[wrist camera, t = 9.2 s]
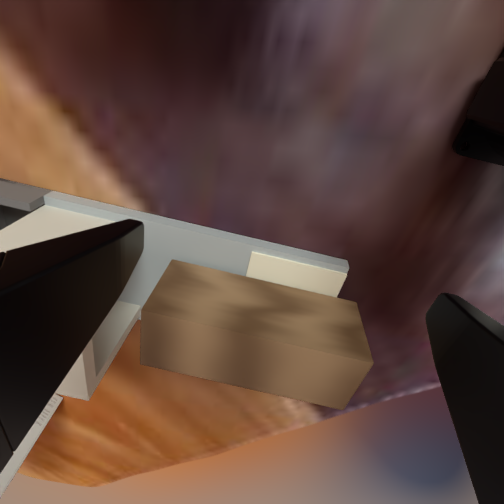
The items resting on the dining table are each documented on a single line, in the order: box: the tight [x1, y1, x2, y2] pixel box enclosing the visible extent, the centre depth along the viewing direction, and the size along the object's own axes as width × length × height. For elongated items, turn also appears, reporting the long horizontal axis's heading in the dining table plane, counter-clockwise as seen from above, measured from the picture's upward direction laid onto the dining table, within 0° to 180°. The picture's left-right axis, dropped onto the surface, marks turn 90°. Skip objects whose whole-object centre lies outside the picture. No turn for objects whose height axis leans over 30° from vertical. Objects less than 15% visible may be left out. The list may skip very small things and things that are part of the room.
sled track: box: [0, 178, 349, 401], centre depth 21 cm, size 27×10×9 cm, turn 78°
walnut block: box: [140, 259, 374, 410], centre depth 22 cm, size 14×5×6 cm, turn 78°
